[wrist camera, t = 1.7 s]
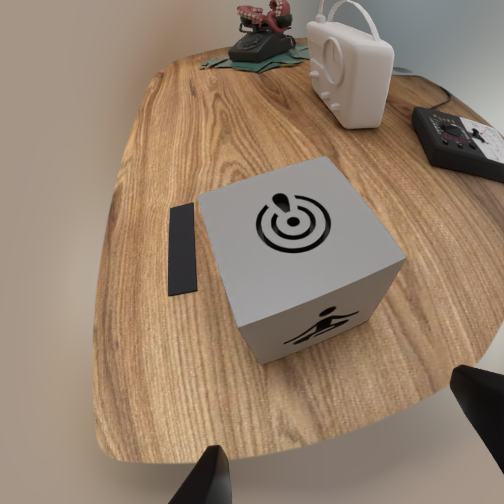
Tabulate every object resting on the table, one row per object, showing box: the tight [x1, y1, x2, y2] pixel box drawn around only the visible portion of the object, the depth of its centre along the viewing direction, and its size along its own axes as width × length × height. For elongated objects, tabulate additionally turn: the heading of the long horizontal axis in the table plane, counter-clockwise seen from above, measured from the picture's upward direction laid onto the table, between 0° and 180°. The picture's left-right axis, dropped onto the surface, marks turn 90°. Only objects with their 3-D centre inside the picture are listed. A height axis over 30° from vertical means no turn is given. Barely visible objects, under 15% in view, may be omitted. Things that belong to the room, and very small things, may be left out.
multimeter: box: [412, 107, 504, 183], centre depth 31 cm, size 13×19×5 cm
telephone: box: [199, 0, 310, 74], centre depth 60 cm, size 35×32×20 cm
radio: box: [307, 0, 394, 129], centre depth 33 cm, size 22×8×25 cm, turn 7°
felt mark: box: [168, 203, 197, 296], centre depth 29 cm, size 12×3×1 cm, turn 9°
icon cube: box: [197, 156, 407, 365], centre depth 20 cm, size 10×10×10 cm
